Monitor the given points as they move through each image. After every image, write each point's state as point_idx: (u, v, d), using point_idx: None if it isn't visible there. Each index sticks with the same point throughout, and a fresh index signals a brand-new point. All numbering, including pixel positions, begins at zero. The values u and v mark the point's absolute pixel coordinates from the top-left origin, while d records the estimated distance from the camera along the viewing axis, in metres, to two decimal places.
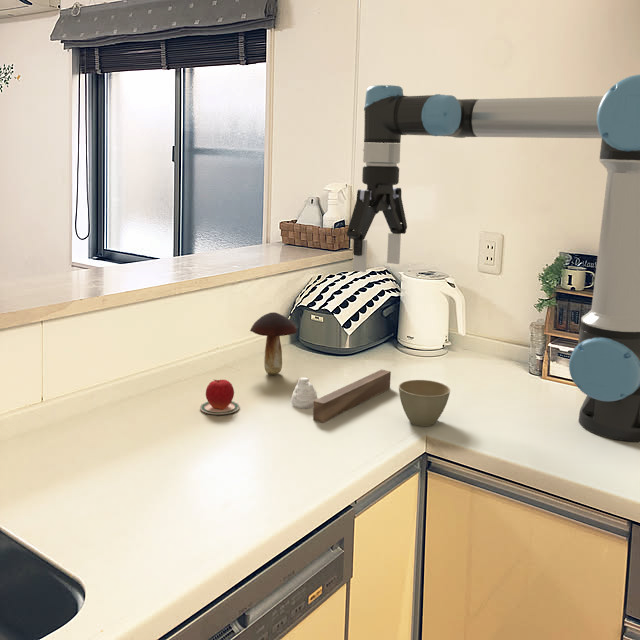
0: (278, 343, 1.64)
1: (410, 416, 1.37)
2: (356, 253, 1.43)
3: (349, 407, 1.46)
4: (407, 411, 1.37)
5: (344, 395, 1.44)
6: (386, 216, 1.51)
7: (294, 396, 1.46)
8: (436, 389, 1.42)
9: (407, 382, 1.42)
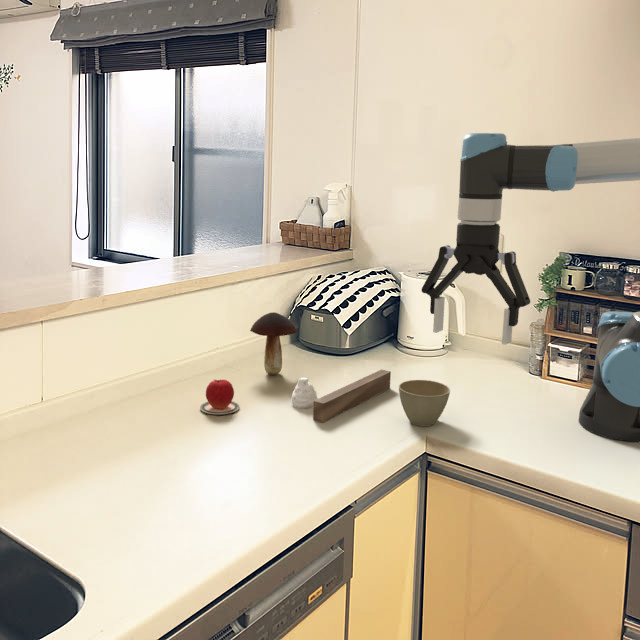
0: (278, 343, 1.64)
1: (410, 416, 1.37)
2: None
3: (349, 407, 1.46)
4: (407, 411, 1.37)
5: (344, 395, 1.44)
6: None
7: (294, 396, 1.46)
8: (436, 389, 1.42)
9: (407, 382, 1.42)
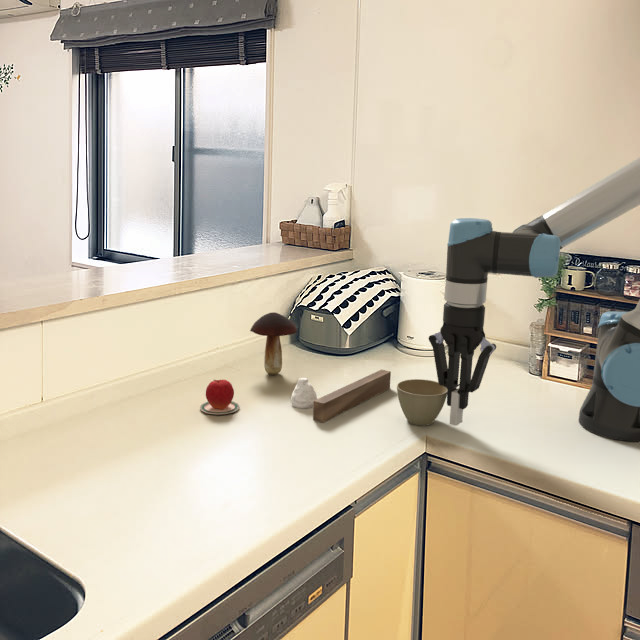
0: (278, 343, 1.64)
1: (408, 415, 1.38)
2: None
3: (349, 407, 1.46)
4: (405, 410, 1.38)
5: (344, 395, 1.44)
6: None
7: (294, 396, 1.46)
8: (434, 388, 1.43)
9: (405, 382, 1.43)
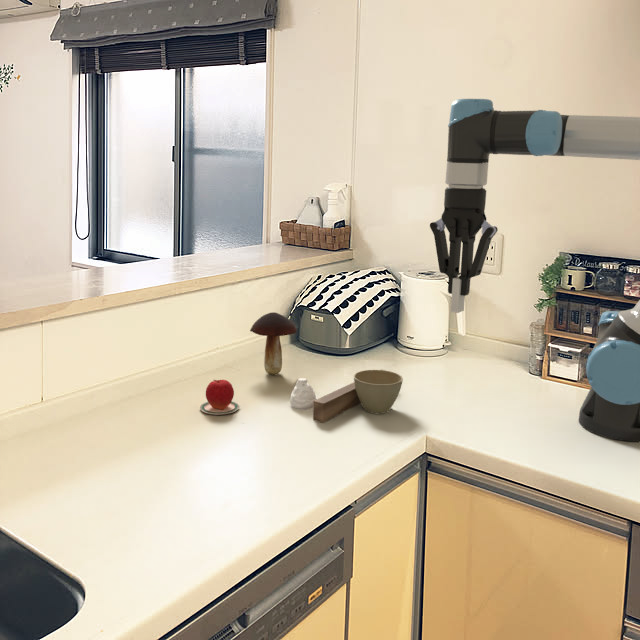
0: (278, 343, 1.64)
1: (364, 404, 1.43)
2: None
3: (349, 407, 1.46)
4: (361, 399, 1.43)
5: (344, 395, 1.44)
6: None
7: (293, 397, 1.46)
8: (391, 378, 1.48)
9: (362, 372, 1.48)
